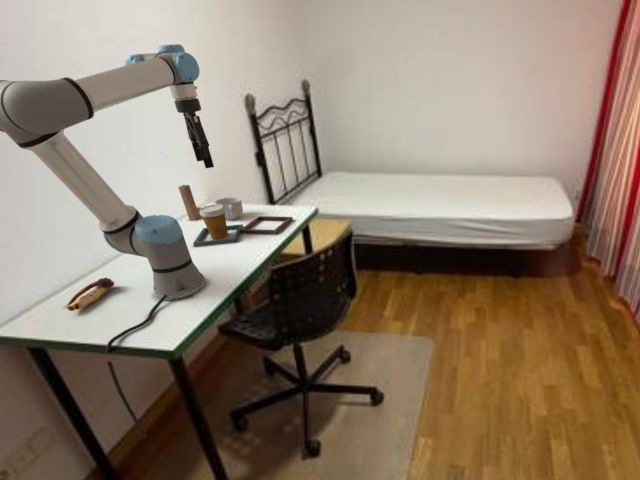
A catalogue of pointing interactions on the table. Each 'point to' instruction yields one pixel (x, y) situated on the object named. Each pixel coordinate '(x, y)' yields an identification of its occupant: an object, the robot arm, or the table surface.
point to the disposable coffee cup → (215, 221)
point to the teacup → (231, 207)
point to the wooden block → (189, 202)
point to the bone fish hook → (90, 294)
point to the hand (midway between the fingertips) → (205, 164)
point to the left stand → (220, 241)
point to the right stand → (267, 218)
